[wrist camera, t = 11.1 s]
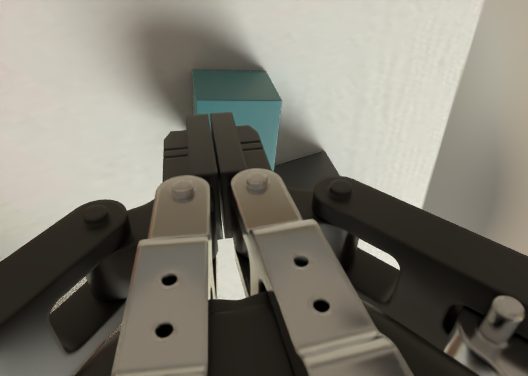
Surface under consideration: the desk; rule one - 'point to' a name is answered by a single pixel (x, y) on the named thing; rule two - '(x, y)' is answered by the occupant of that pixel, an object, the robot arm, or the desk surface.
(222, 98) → the block teal
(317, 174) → the block charcoal
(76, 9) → the desk surface
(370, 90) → the desk surface
